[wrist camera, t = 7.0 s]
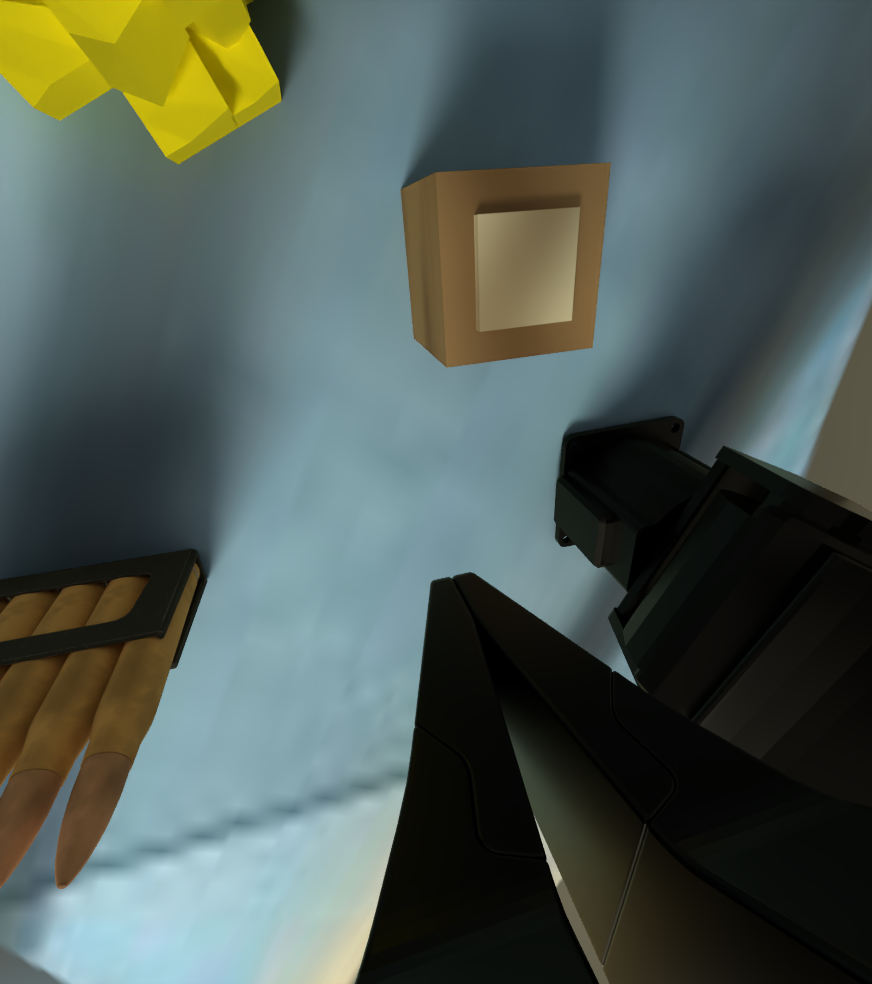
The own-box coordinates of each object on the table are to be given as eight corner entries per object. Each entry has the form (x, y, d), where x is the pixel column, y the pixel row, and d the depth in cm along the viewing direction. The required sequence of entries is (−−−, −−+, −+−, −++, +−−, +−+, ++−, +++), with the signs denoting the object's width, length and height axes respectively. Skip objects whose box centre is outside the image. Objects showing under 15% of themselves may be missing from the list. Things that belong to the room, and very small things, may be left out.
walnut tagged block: (533, 181, 17) (617, 160, 12) (529, 323, 19) (597, 349, 15) (400, 190, 16) (438, 170, 12) (413, 337, 18) (449, 369, 14)
